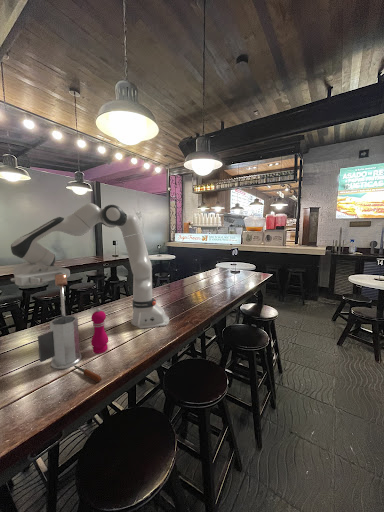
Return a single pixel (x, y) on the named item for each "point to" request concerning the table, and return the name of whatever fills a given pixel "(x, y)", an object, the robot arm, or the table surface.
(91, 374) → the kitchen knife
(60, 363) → the press
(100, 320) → the pepper mill
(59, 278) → the plunger
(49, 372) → the table surface
